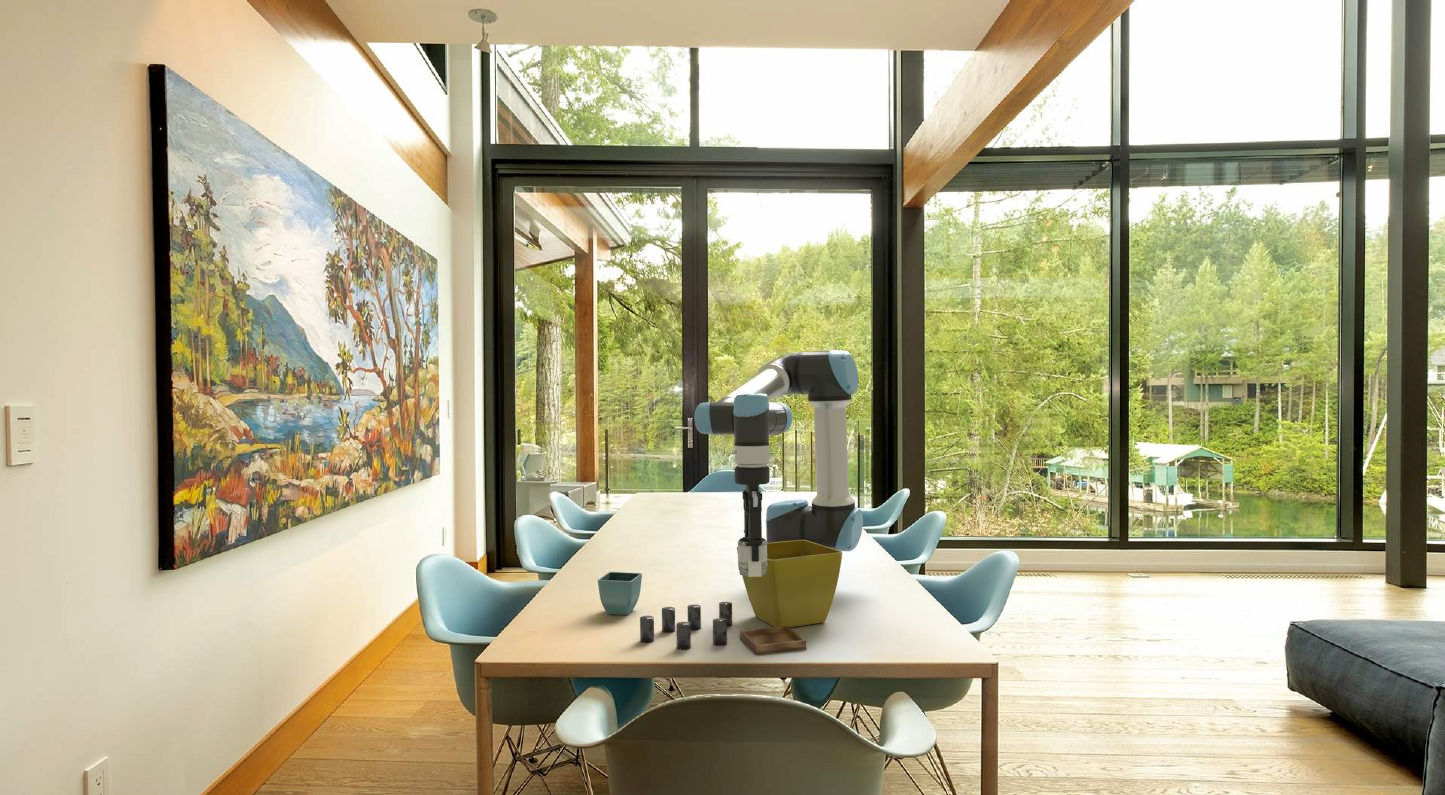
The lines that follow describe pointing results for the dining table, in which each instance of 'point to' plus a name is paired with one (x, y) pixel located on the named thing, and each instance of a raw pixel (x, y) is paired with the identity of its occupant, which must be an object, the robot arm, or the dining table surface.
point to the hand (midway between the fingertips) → (753, 572)
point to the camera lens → (744, 556)
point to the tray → (772, 640)
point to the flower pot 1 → (619, 591)
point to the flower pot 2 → (795, 583)
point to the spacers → (688, 625)
